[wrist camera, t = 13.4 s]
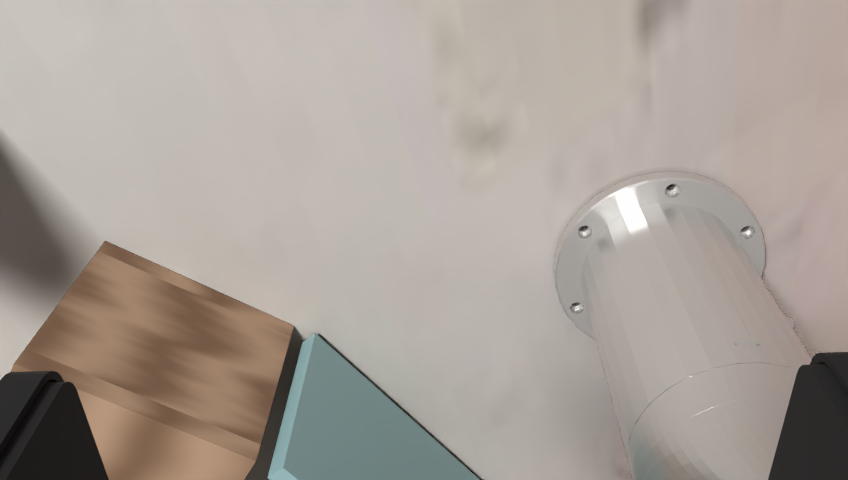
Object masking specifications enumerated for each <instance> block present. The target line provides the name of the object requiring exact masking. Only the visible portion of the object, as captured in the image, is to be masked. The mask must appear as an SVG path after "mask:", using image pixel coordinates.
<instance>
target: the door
mask: <svg viewBox="0 0 848 480" xmlns="http://www.w3.org/2000/svg"><path fill="white" fill-rule="evenodd" d="M268 479H270V480H480V479H478V478H477V477H476V476H475V475H474V474H473V473H472V472H471V471H469V470H468V469H467V468H466V467H465V466H464V465H463V464H462V463H460V462H459V461H458V460H457V459H456V458H455V457H454V456H453V455H451V454H450V453H449V452H448V451H447V450H446V449H445V448H444V447H443V446H441V445H440V444H439V443H438V442H437V441H436V440H435V439H434V438H432V437H431V436H430V435H429V434H428V433H427V432H426V431H425V430H423V429H422V428H421V427H420V426H419V425H418V424H417V423H416V422H414V421H413V420H412V419H411V418H410V417H409V416H408V415H407V414H406V413H404V412H403V411H402V410H401V409H400V408H399V407H398V406H397V405H395V404H394V403H393V402H392V401H391V400H390V399H389V398H388V397H386V396H385V395H384V394H383V393H382V392H381V391H380V390H379V389H377V388H376V387H375V386H374V385H373V384H372V383H371V382H370V381H368V380H367V379H366V378H365V377H364V376H363V375H362V374H361V373H360V372H358V371H357V370H356V369H355V368H354V367H353V366H352V365H351V364H349V363H348V362H347V361H346V360H345V359H344V358H343V357H342V356H340V355H339V354H338V353H337V352H336V351H335V350H334V349H333V348H331V347H330V346H329V345H328V344H327V343H326V342H325V341H324V340H323V339H321V338H320V337H319V336H318V335H317V334H316V333H315V334H313V335H312V336H310V337H309V338H308V339H306V340H305V341H303V342H302V346H301V350H300V354H299V357H298V361H297V365H296V369H295V373H294V377H293V381H292V385H291V388H290V392H289V396H288V400H287V404H286V408H285V412H284V416H283V419H282V423H281V427H280V431H279V435H278V439H277V443H276V447H275V450H274V454H273V458H272V462H271V466H270V470H269V474H268Z"/></svg>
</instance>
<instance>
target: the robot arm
mask: <svg viewBox="0 0 848 480" xmlns="http://www.w3.org/2000/svg"><path fill="white" fill-rule="evenodd" d="M671 184H673V185H672V186H671V187H667V186H669V185H671ZM582 226H586V227H584V228H580V227H582ZM764 265H765V243H764V238H763V234H762V230H761V228H760V226H759V224H758V222H757V220H756V218H755V216H754V214H753V213H752V212H751V210H750V209H749V208H748V206H747V205H746V203H745V202H744V201H743V200H742V199H741V198H740V197H739V196H737V195H736V194H735V193H734V192H733V191H732V190H731V189H729V188H727V187H726V186H724V185H722V184H720V183H719V182H717V181H715V180H712V179H709V178H706V177H703V176H700V175H697V174H691V173H683V172H655V173H650V174H645V175H641V176H636V177H633V178H630V179H627V180H625V181H622V182H620V183H617V184H615V185H613V186H611V187H609V188H608V189H606V190H604V191H603V192H601V193H599V194H598V195H596V196H595V197H594V198H593V199H591V200H590V201H589V202H588V203H587V204H585V205H584V206H583V207H582V208H581V209H580V210H579V211H578V212H577V214H576V215H575V216H574V217H573V219H572V220H571V221H570V222H569V224H568V225H567V227H566V229H565V231H564V233H563V234H562V236H561V238H560V241H559V244H558V247H557V250H556V254H555V261H554V278H555V285H556V290H557V293H558V297H559V300H560V303H561V305H562V307H563V309H564V311H565V313H566V315H567V316H568V317H569V318H570V319H571V321H572V322H573V323H574V324H575V325H576V326H577V328H579V329H580V330H581V331H583V332H584V333H585V334H587V335H588V336H589V337H591V338H592V339H594V340H596V342H597V346H598V350H599V354H600V358H601V361H602V365H603V369H604V373H605V376H606V380H607V384H608V388H609V391H610V395H611V399H612V403H613V407H614V410H615V414H616V418H617V422H618V425H619V429H620V433H621V437H622V440H623V444H624V448H625V452H626V455H627V459H628V463H629V467H630V471H631V474H632V478H633V480H848V352H835V353H818V354H816V355H815V356H814V357H813V358H812V359H811V357H810V356H809V354H808V352H807V351H806V349H805V348H804V346H803V345H802V343H801V341H800V340H799V338H798V337H797V335H796V333H795V332H794V330H793V328H794V321H793V320H792V319H791V318H789V317H787V316H786V315H784V314H783V313H782V311H781V310H780V308H779V306H778V305H777V303H776V302H775V300H774V299H773V297H772V295H771V294H770V292H769V291H768V289H767V287H766V286H765V284H764V283H763V281H762V279H761V277H762V273H763V269H764ZM0 480H109V479H108V476H107V473H106V470H105V467H104V465H103V462H102V459H101V456H100V453H99V451H98V448H97V445H96V442H95V439H94V437H93V434H92V431H91V428H90V425H89V423H88V420H87V417H86V414H85V411H84V409H83V406H82V403H81V400H80V398H79V395H78V392H77V389H76V387H75V385H74V384H73V383H71V382H64V380H63V378H62V376H61V375H60V374H59V373H58V372H56V371H27V372H10V373H8V374H6V375H5V376H4V377H3V378H2V379H1V380H0Z"/></svg>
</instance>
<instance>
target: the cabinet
mask: <svg viewBox="0 0 848 480" xmlns="http://www.w3.org/2000/svg"><path fill="white" fill-rule="evenodd" d="M293 328H294V326H293V325H291V324H288V323H286V322H284V321H282V320H280V319H277V318H275V317H273V316H271V315H268V314H266V313H264V312H262V311H260V310H257V309H255V308H253V307H251V306H248V305H246V304H244V303H242V302H240V301H237V300H235V299H233V298H231V297H228V296H226V295H224V294H222V293H220V292H217V291H215V290H213V289H211V288H209V287H206V286H204V285H202V284H200V283H197V282H195V281H193V280H191V279H189V278H186V277H184V276H182V275H180V274H177V273H175V272H173V271H171V270H169V269H166V268H164V267H162V266H160V265H157V264H155V263H153V262H151V261H149V260H146V259H144V258H142V257H140V256H137V255H135V254H133V253H131V252H129V251H126V250H124V249H122V248H120V247H117V246H115V245H113V244H111V243H109V242H106V241H105V242H104V243H103V245H102V246H101V247H100V249H99V250H98V251H97V253H96V254H95V255H94V257H93V258H92V259H91V261H90V262H89V263H88V265H87V266H86V267H85V269H84V270H83V272H82V273H81V274H80V276H79V277H78V278H77V280H76V281H75V282H74V284H73V285H72V286H71V288H70V289H69V290H68V292H67V293H66V294H65V296H64V297H63V298H62V300H61V301H60V302H59V304H58V305H57V306H56V308H55V309H54V311H53V312H52V313H51V315H50V316H49V317H48V319H47V320H46V321H45V323H44V324H43V325H42V327H41V328H40V329H39V331H38V332H37V333H36V335H35V336H34V337H33V339H32V340H31V341H30V343H29V344H28V346H27V347H26V348H25V350H24V351H23V352H22V354H21V355H20V356H19V358H18V359H17V360H16V362H15V363H14V365H13V368H12V370H11V372H27V371H56V372H58V373H59V374H60V375H61V376H62V378H63V380H64V382H71V383H73V384H74V385H75V387H76V389H77V392H78V395H79V398H80V400H81V403H82V406H83V409H84V411H85V414H86V417H87V420H88V423H89V425H90V428H91V431H92V434H93V437H94V439H95V442H96V445H97V448H98V451H99V453H100V456H101V459H102V462H103V465H104V467H105V470H106V473H107V476H108V479H109V480H244V479H245V478H246V476H247V474H248V473H249V471H250V470H251V468H252V467H253V465H254V463H255V462H256V459H257V456H258V452H259V449H260V445H261V442H262V438H263V434H264V431H265V427H266V424H267V420H268V417H269V413H270V410H271V406H272V402H273V399H274V395H275V392H276V388H277V385H278V381H279V378H280V374H281V370H282V367H283V363H284V360H285V356H286V353H287V349H288V346H289V342H290V338H291V335H292V331H293Z"/></svg>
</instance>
